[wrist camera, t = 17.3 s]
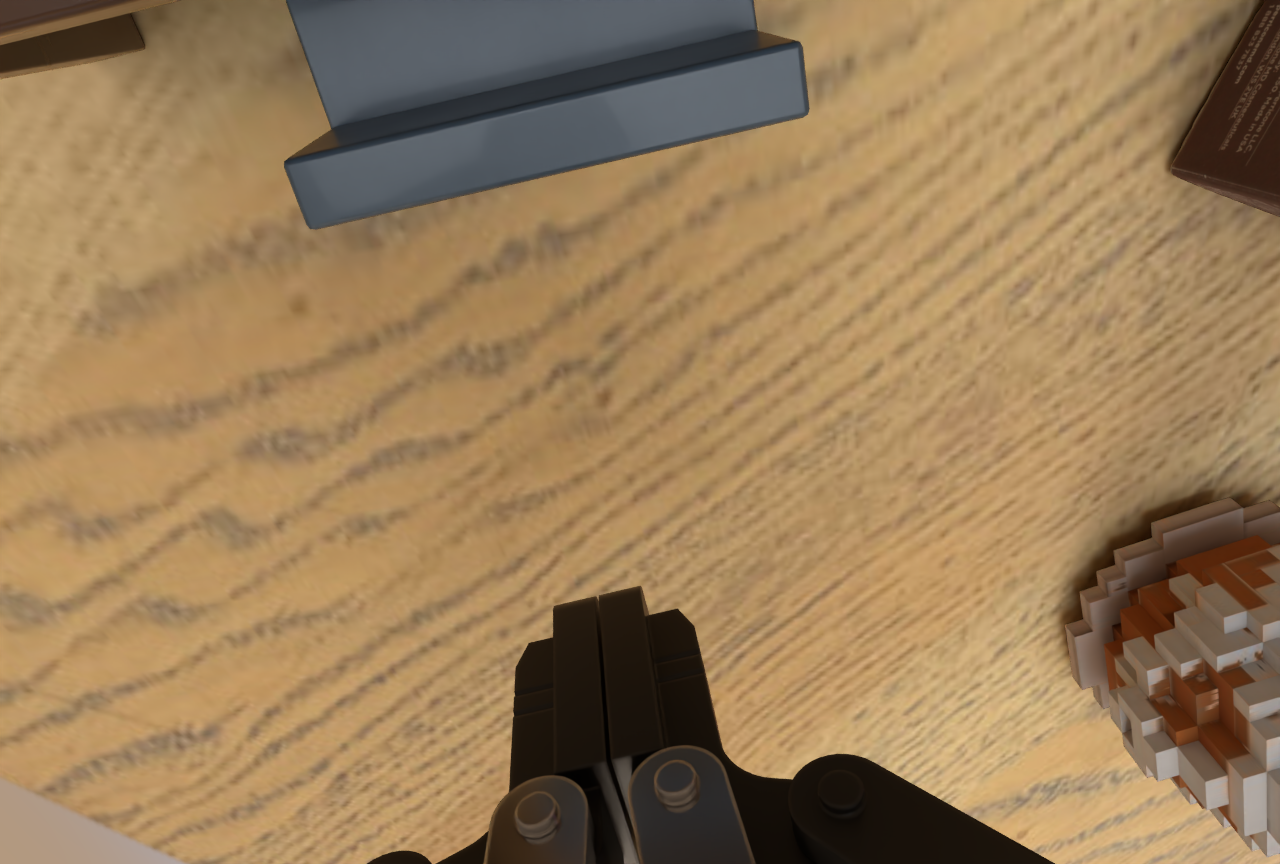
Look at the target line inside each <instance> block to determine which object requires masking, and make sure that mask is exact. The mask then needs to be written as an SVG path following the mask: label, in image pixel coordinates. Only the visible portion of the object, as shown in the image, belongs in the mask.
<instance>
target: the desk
mask: <svg viewBox="0 0 1280 864" xmlns="http://www.w3.org/2000/svg"><path fill="white" fill-rule="evenodd" d="M176 1H180V0H0V79H4V78H9V77H15V76H20V75H26V74H31V73H37V72H42V71H48V70H53V69H59V68H64V67H70V66H75V65H81V64H86V63H92V62H96V61H100V60H104V59H108V58H112V57H116V56H120V55H124V54H128V53H132V52H136V51H140V50H144V49H145V46H144V44H143V42H142V39H141V37H140V35H139V33H138V30H137V28H136V26H135V24H134V21H133V19H132V17H131V15H130V13H132V12H136V11H140V10H144V9H148V8H152V7H156V6H160V5H164V4H168V3H172V2H176Z"/></svg>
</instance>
